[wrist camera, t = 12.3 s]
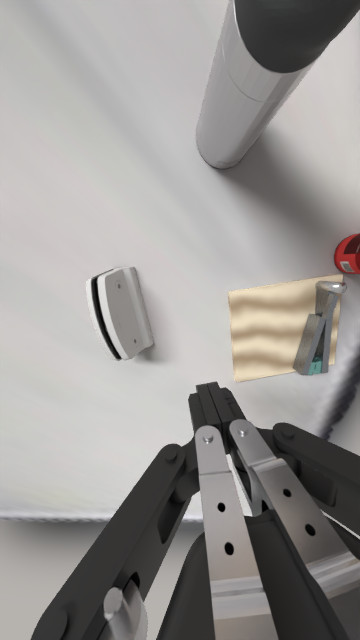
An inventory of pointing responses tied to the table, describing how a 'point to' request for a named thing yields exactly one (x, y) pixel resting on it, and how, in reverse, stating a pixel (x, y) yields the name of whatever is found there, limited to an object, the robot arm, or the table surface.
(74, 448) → the table surface
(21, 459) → the table surface
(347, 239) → the canned food
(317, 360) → the tongs fixed
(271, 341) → the board
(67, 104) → the table surface
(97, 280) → the grey curved block
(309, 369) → the tong arm
